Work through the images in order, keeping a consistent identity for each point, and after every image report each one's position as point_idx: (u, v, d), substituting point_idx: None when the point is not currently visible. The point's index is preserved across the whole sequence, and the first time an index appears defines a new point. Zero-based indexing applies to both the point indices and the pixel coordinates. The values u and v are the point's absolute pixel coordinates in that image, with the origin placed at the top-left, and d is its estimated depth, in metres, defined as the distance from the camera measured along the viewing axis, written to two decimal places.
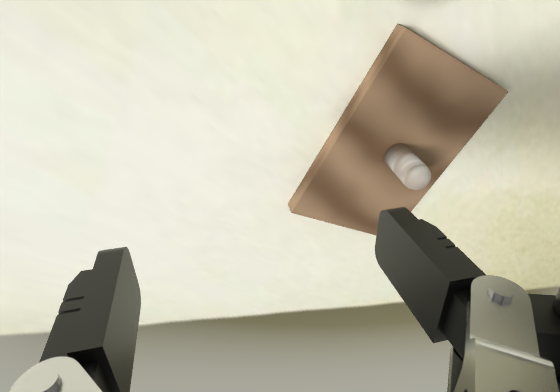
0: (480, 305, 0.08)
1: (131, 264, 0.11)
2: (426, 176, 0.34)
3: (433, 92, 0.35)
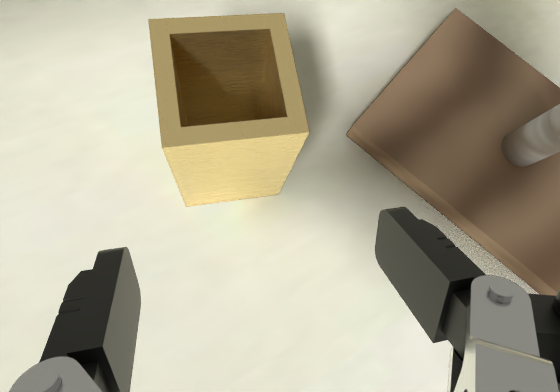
0: (480, 305, 0.08)
1: (131, 264, 0.11)
2: None
3: (439, 96, 0.27)
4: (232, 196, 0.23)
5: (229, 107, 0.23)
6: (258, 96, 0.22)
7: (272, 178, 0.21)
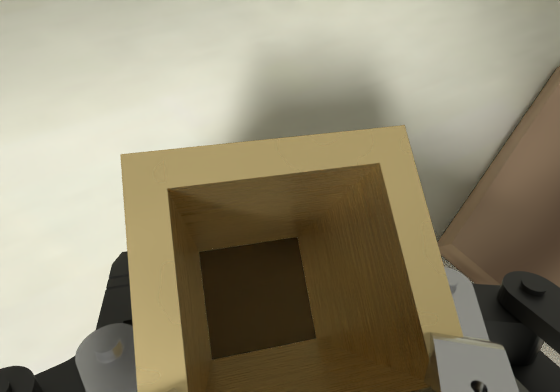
0: None
1: None
2: None
3: None
4: None
5: (265, 232, 0.14)
6: (316, 221, 0.13)
7: None
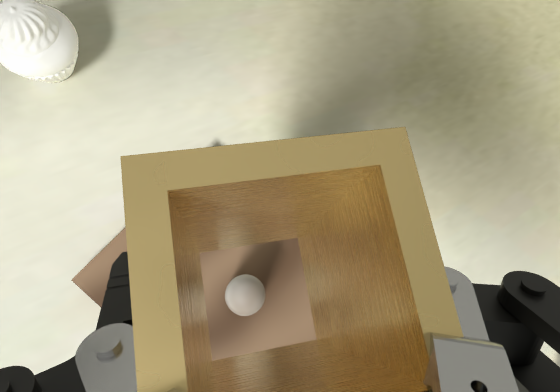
0: None
1: None
2: (237, 287, 0.23)
3: None
4: None
5: (266, 233, 0.14)
6: (316, 222, 0.13)
7: None
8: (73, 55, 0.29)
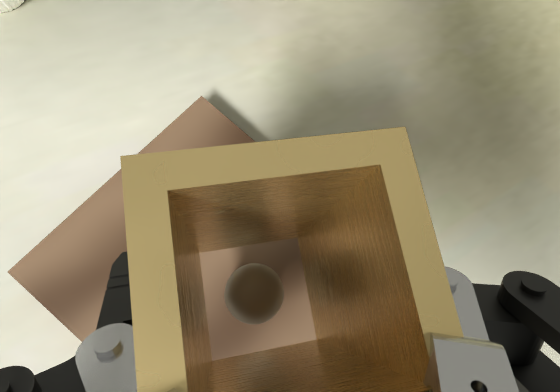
0: None
1: None
2: (243, 282, 0.15)
3: None
4: None
5: (266, 233, 0.14)
6: (316, 222, 0.13)
7: None
8: None
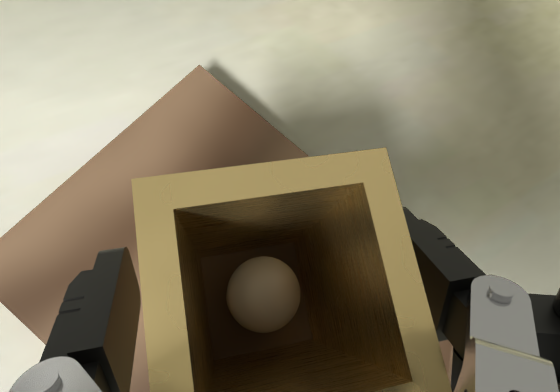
0: (480, 305, 0.08)
1: (131, 264, 0.11)
2: (250, 279, 0.12)
3: None
4: None
5: (263, 239, 0.15)
6: (310, 229, 0.14)
7: None
8: None
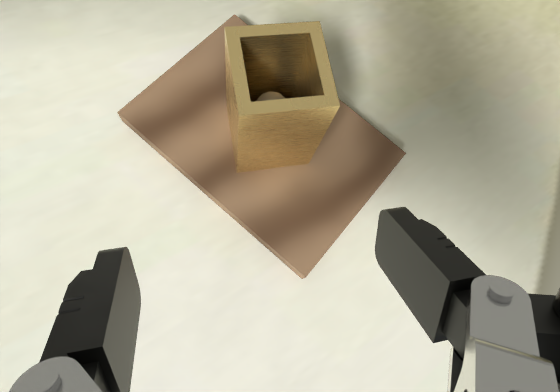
0: (480, 305, 0.08)
1: (131, 264, 0.11)
2: (265, 96, 0.27)
3: (202, 88, 0.32)
4: (273, 164, 0.30)
5: None
6: (294, 85, 0.29)
7: (307, 147, 0.28)
8: None
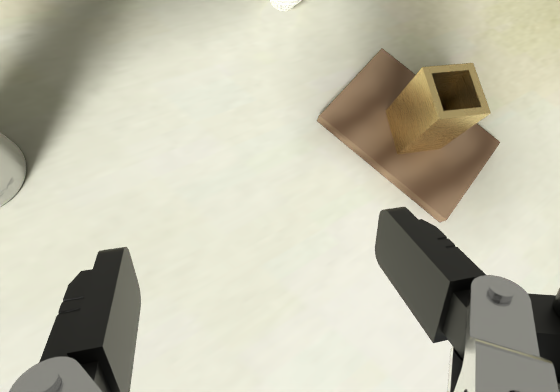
0: (480, 305, 0.08)
1: (131, 264, 0.11)
2: None
3: (368, 99, 0.48)
4: (422, 148, 0.46)
5: None
6: (439, 98, 0.45)
7: (450, 137, 0.44)
8: None
